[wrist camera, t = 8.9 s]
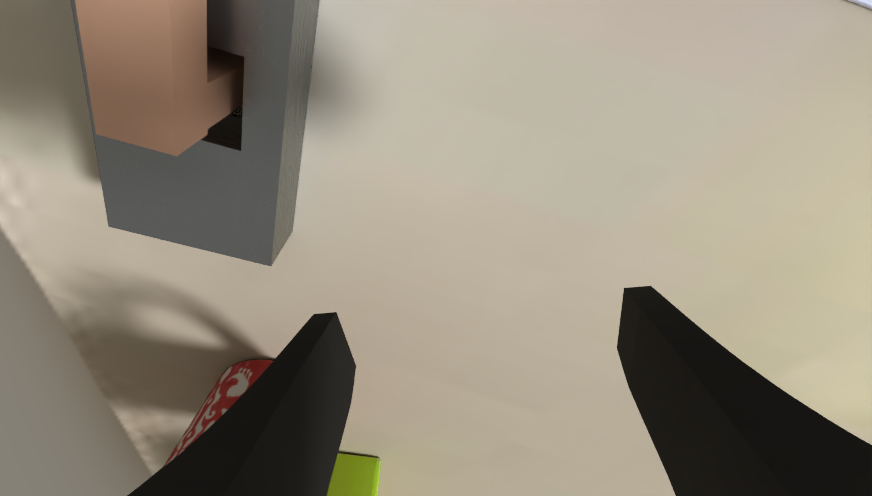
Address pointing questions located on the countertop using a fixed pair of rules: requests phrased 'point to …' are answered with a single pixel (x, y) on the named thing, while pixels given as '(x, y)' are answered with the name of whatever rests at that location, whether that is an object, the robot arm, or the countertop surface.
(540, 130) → the countertop surface
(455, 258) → the countertop surface
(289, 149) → the gray slotted board
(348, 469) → the box
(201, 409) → the mug
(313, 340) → the robot arm
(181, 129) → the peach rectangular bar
